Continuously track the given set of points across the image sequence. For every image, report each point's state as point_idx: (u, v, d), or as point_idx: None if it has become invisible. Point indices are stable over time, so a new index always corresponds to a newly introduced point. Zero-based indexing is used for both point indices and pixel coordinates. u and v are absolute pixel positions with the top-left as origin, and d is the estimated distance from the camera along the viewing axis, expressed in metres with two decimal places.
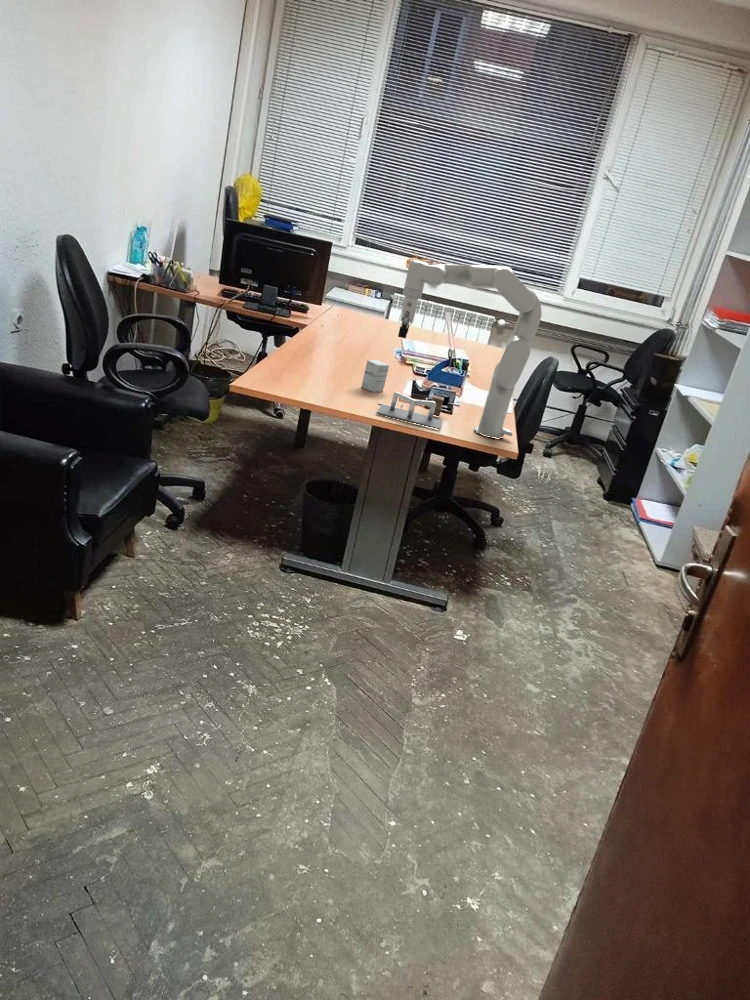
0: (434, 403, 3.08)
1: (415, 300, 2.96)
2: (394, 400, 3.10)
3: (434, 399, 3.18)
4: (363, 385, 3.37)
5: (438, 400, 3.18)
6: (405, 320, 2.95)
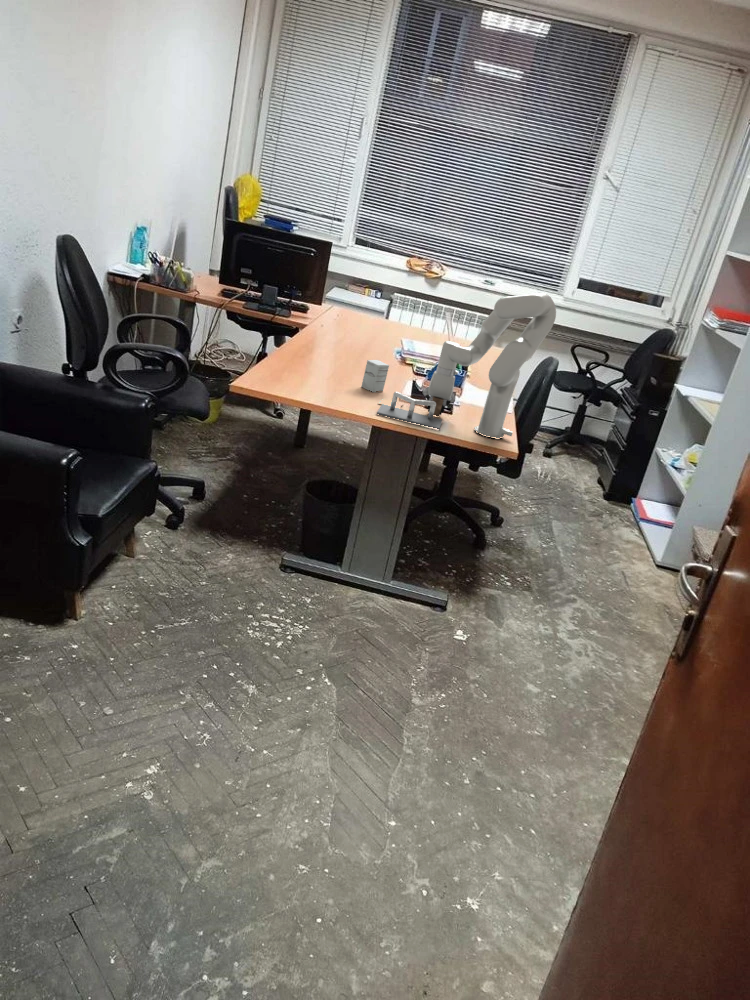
0: (434, 403, 3.08)
1: None
2: (394, 400, 3.10)
3: (434, 399, 3.18)
4: (363, 385, 3.37)
5: (438, 400, 3.18)
6: None
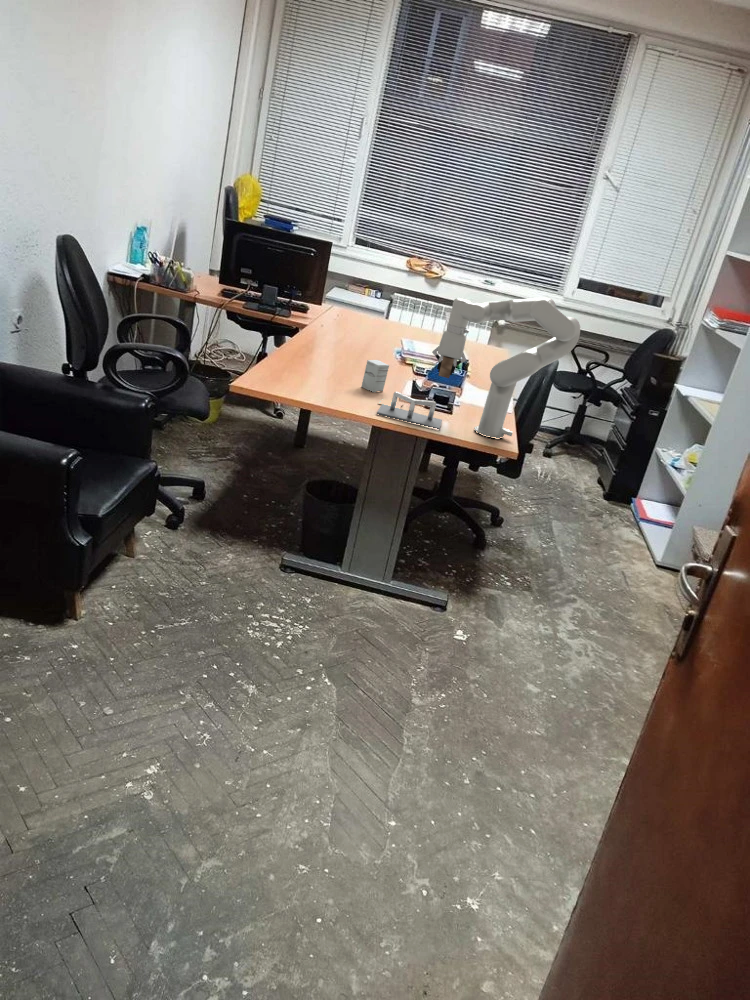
0: (434, 403, 3.08)
1: None
2: (394, 400, 3.10)
3: (444, 359, 3.10)
4: (363, 385, 3.37)
5: (448, 360, 3.09)
6: None
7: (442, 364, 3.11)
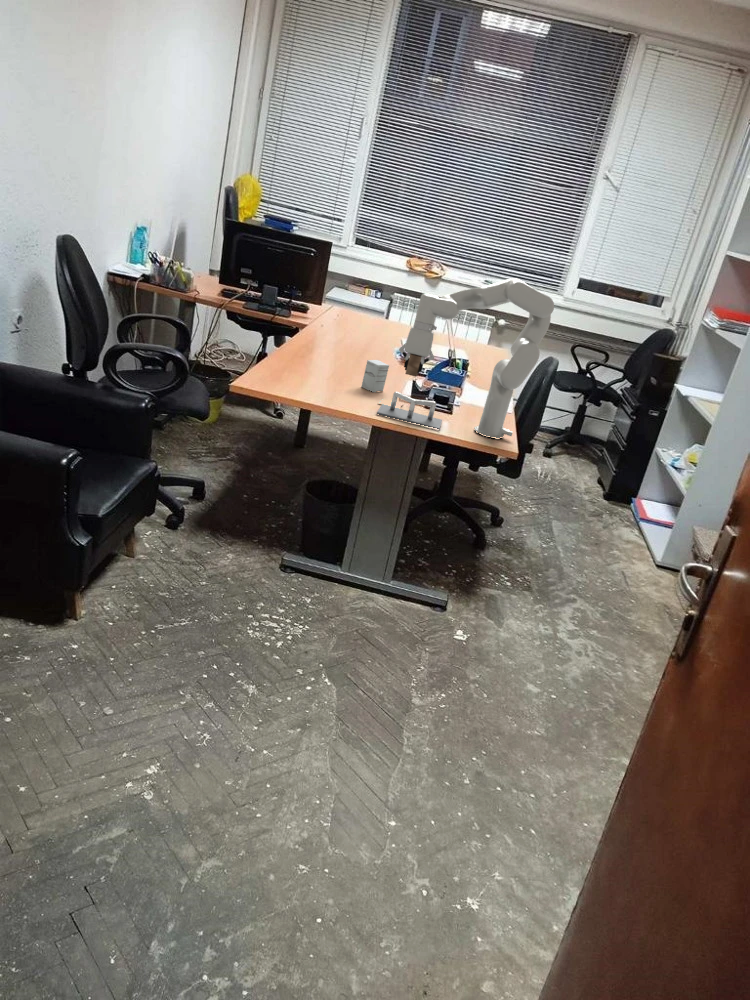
0: (434, 403, 3.08)
1: None
2: (394, 400, 3.10)
3: (411, 356, 2.98)
4: (363, 385, 3.37)
5: (416, 357, 2.98)
6: None
7: (409, 362, 2.99)
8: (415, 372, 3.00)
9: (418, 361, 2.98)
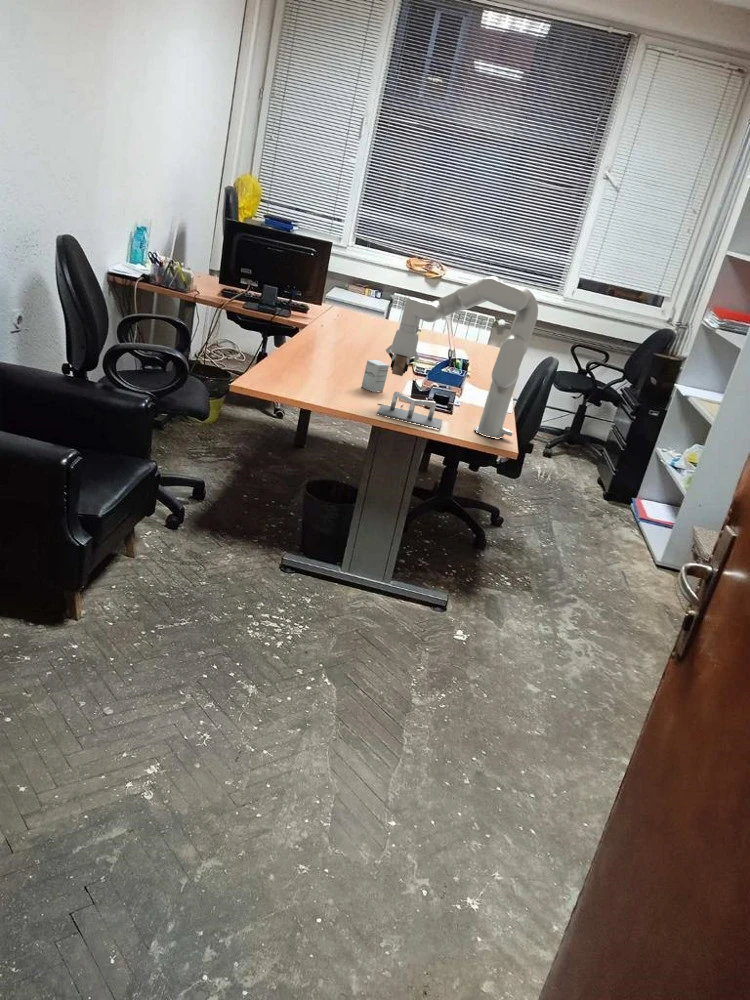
0: (434, 403, 3.08)
1: None
2: (394, 400, 3.10)
3: (397, 357, 3.13)
4: (363, 385, 3.37)
5: (401, 358, 3.13)
6: None
7: (395, 362, 3.14)
8: (401, 372, 3.15)
9: (404, 361, 3.13)
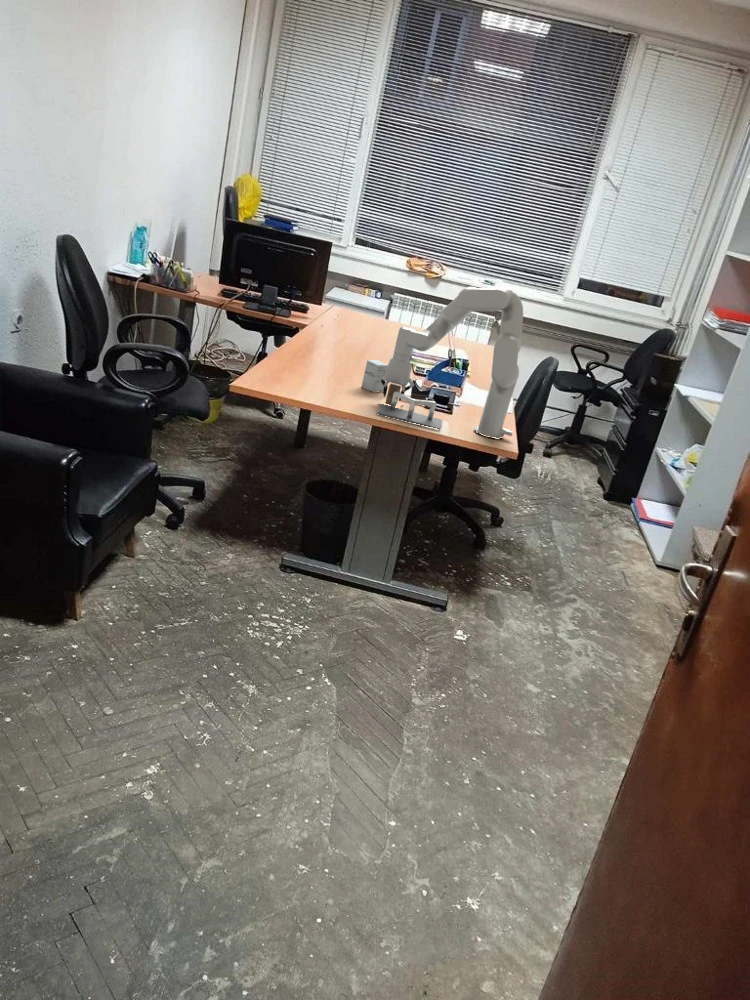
0: (434, 403, 3.08)
1: None
2: (394, 400, 3.10)
3: (390, 387, 3.18)
4: (363, 385, 3.37)
5: (394, 388, 3.18)
6: (412, 386, 3.19)
7: (388, 392, 3.19)
8: None
9: None
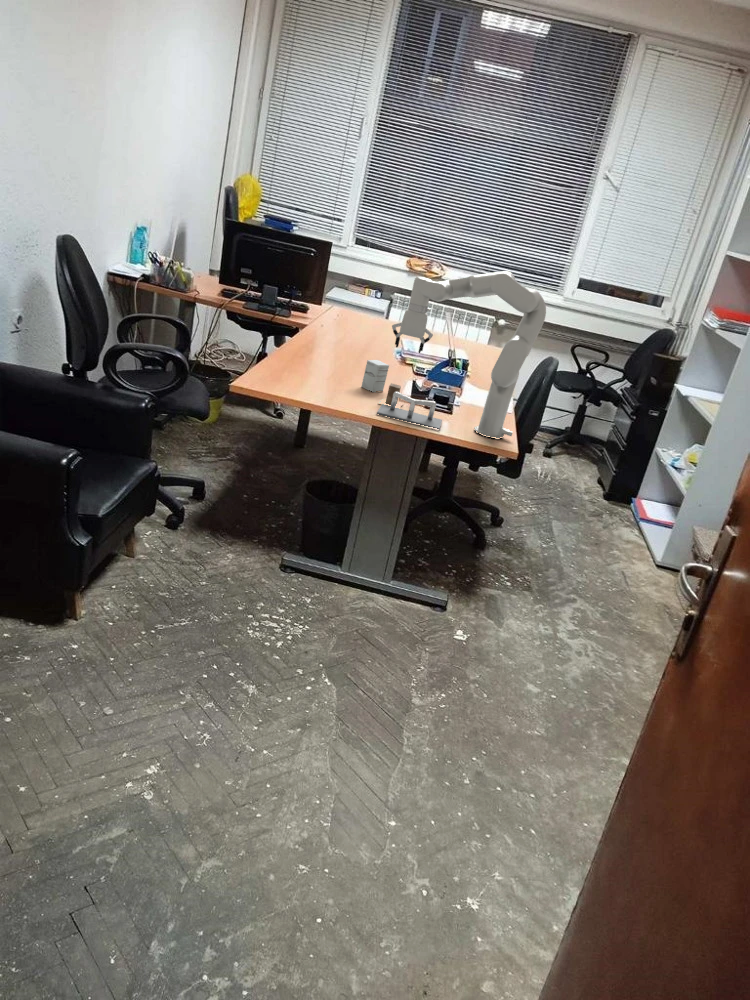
0: (434, 403, 3.08)
1: None
2: (394, 400, 3.10)
3: (390, 387, 3.18)
4: (363, 385, 3.37)
5: (394, 388, 3.18)
6: None
7: (388, 392, 3.19)
8: None
9: None
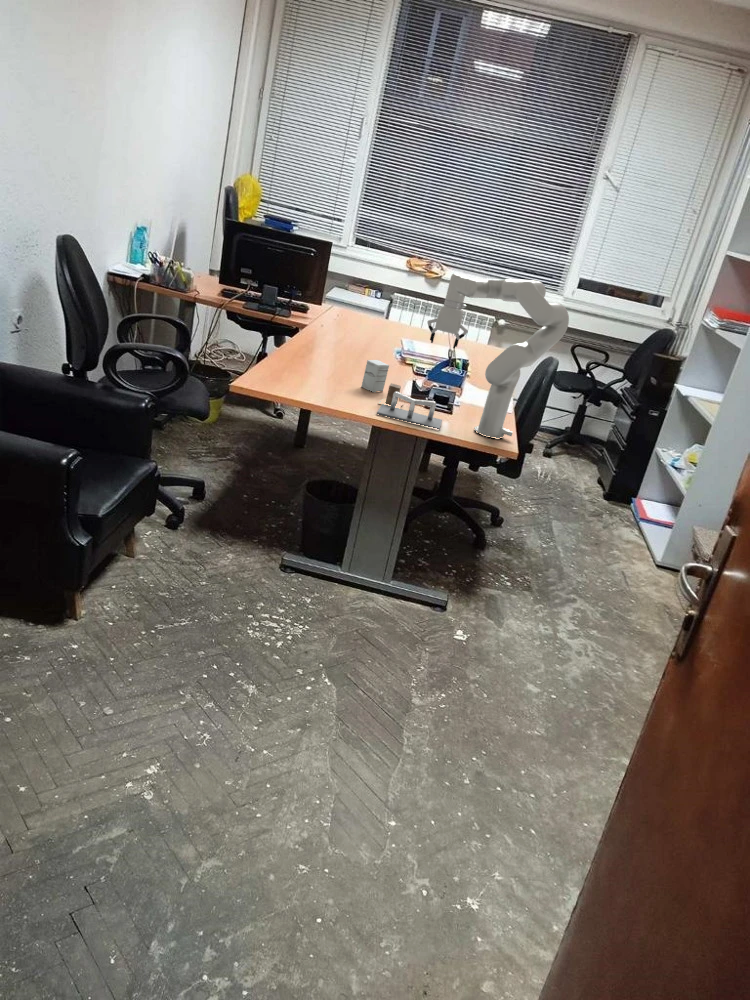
0: (434, 403, 3.08)
1: None
2: (394, 400, 3.10)
3: (390, 387, 3.18)
4: (363, 385, 3.37)
5: (394, 388, 3.18)
6: (466, 332, 3.15)
7: (388, 392, 3.19)
8: None
9: None
